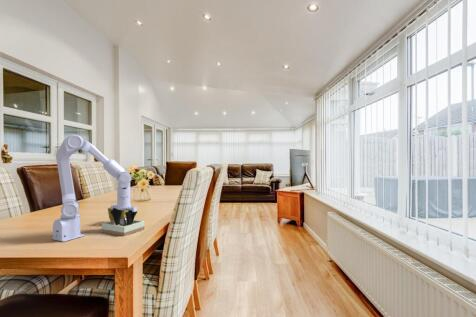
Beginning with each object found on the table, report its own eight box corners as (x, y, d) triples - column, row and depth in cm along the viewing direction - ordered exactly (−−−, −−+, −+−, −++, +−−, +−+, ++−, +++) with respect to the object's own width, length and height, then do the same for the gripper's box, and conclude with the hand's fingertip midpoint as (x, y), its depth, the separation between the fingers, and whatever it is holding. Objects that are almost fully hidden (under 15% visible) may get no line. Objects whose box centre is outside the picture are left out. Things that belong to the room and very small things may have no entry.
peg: (123, 232, 121) (123, 219, 121) (118, 231, 122) (118, 218, 122) (128, 230, 124) (128, 217, 124) (123, 229, 125) (123, 217, 125)
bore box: (124, 236, 115) (124, 227, 115) (101, 232, 121) (102, 223, 120) (144, 229, 126) (144, 221, 126) (122, 226, 131) (123, 218, 131)
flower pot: (124, 225, 132) (124, 208, 132) (107, 225, 132) (107, 207, 132) (131, 221, 141) (131, 204, 141) (115, 221, 141) (115, 204, 141)
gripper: (141, 196, 124) (141, 225, 124) (119, 194, 130) (119, 222, 130) (130, 198, 117) (130, 229, 117) (107, 196, 123) (107, 225, 123)
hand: (123, 225), depth 123 cm, fingers open, 7 cm apart
